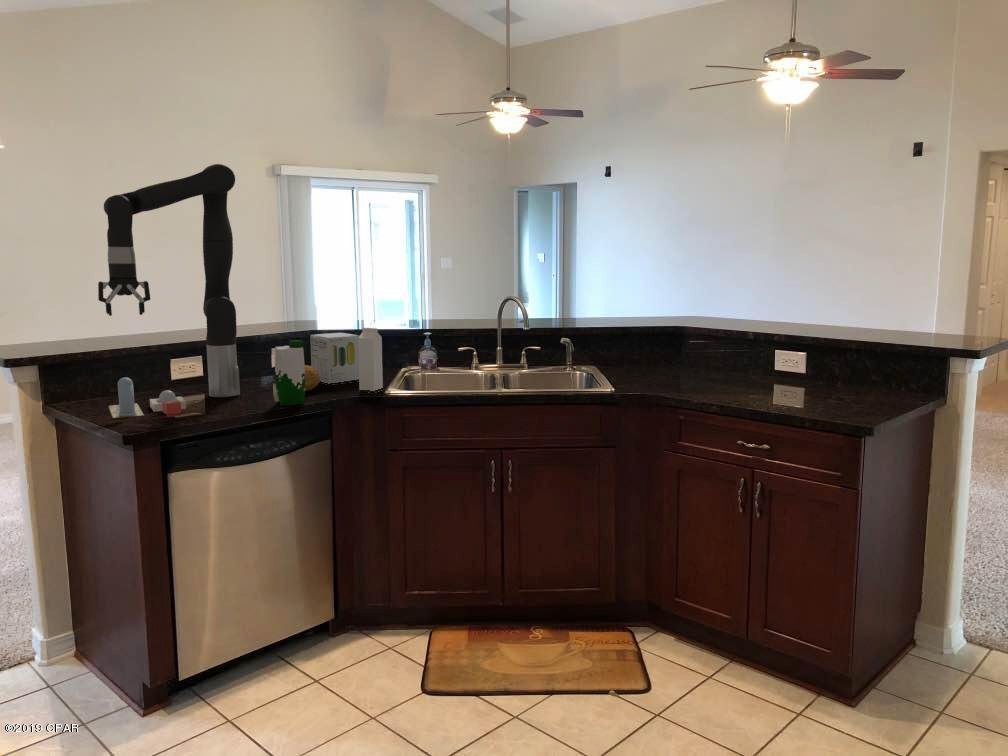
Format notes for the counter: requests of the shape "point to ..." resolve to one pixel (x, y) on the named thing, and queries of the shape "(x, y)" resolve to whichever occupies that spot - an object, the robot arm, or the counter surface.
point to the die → (171, 408)
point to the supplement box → (335, 357)
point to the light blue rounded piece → (167, 396)
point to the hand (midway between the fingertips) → (125, 315)
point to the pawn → (126, 397)
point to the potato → (311, 377)
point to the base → (158, 406)
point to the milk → (370, 360)
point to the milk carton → (290, 373)
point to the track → (116, 410)
